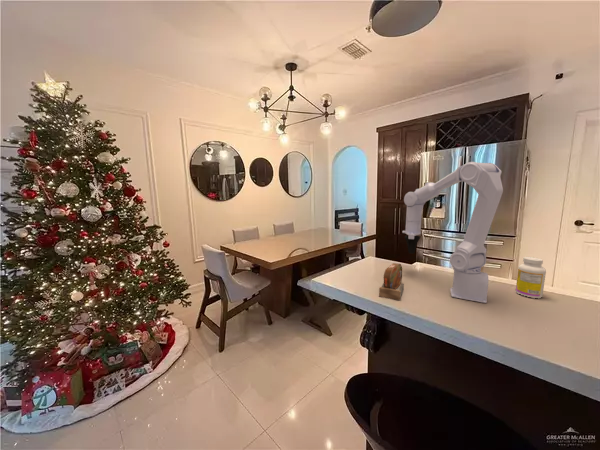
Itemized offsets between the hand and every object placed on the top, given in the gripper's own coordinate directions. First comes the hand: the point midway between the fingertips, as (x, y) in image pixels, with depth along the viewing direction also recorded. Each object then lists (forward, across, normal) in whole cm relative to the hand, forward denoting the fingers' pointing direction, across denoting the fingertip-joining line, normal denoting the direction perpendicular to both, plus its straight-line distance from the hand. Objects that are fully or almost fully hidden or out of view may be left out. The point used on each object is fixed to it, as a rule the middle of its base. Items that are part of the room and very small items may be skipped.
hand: (411, 253), depth 100 cm
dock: (+9, +23, -4) cm, 25 cm away
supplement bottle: (+10, +3, +37) cm, 38 cm away
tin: (+10, +18, -4) cm, 21 cm away
